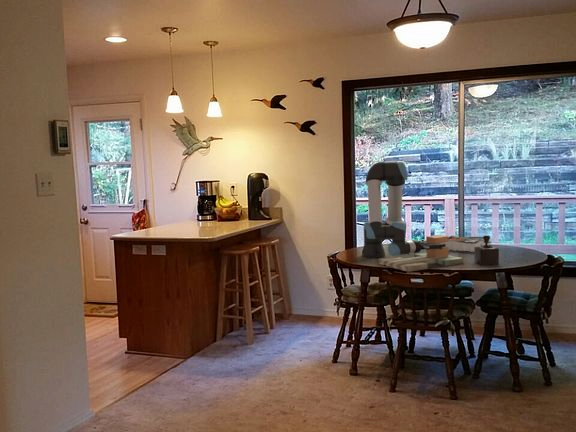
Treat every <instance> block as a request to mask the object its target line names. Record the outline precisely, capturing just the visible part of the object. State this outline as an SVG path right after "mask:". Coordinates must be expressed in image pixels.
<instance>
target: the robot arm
mask: <svg viewBox="0 0 576 432" xmlns="http://www.w3.org/2000/svg"><path fill="white" fill-rule="evenodd" d="M366 173H367V174H366V177H365V186H367V201H368V220H367V221H365V222H364V223H363V248H362V251H361V257H362V256H363V257H362V258H365V257H369V258H368V259H380V258H384V256H385V257H386V250H385V248H384V245H383V241H386V240H387V241H388V240H389V241H391V242H390V243H389V244H388V247H387V252H388V253H389V255H390V256H392V257H400V256H403V255H408V256H409V255H411V254H419V253H421V252H422V250H426V251H427V249H442V248H445V247H449V242H446V243H439V244H429V243H426V240H424V239H421V240H418V239H415V240H413V239H412V240H406V233H407V221H406V220H405V219H404V218H403V217H402V216H403V215H402V213H403V186H404V185H405V183H406V181H407V180H408V171H407V165H406V162H404V161H401V160H396V161H393V160H392V161H379V162H376V163H374V164H373V165H372V166H371V167H370V168H369V169H368V171H367V172H366ZM383 182H385V184H386V185H387V217H386V218H385V220H384V221H383V211H382V210H383V209H382V194H381V193H382V190H381V186H382V184H383ZM427 244H428V245H427ZM379 257H380V258H379Z"/></svg>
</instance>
